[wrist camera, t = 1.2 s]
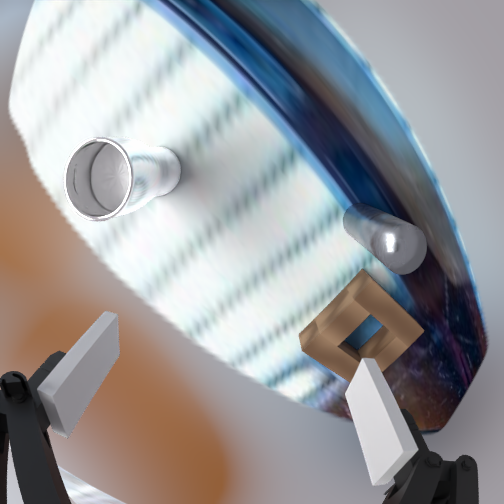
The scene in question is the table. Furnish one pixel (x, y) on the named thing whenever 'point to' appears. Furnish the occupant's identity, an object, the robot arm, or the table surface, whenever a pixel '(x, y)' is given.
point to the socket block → (349, 318)
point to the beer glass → (117, 176)
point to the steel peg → (386, 237)
